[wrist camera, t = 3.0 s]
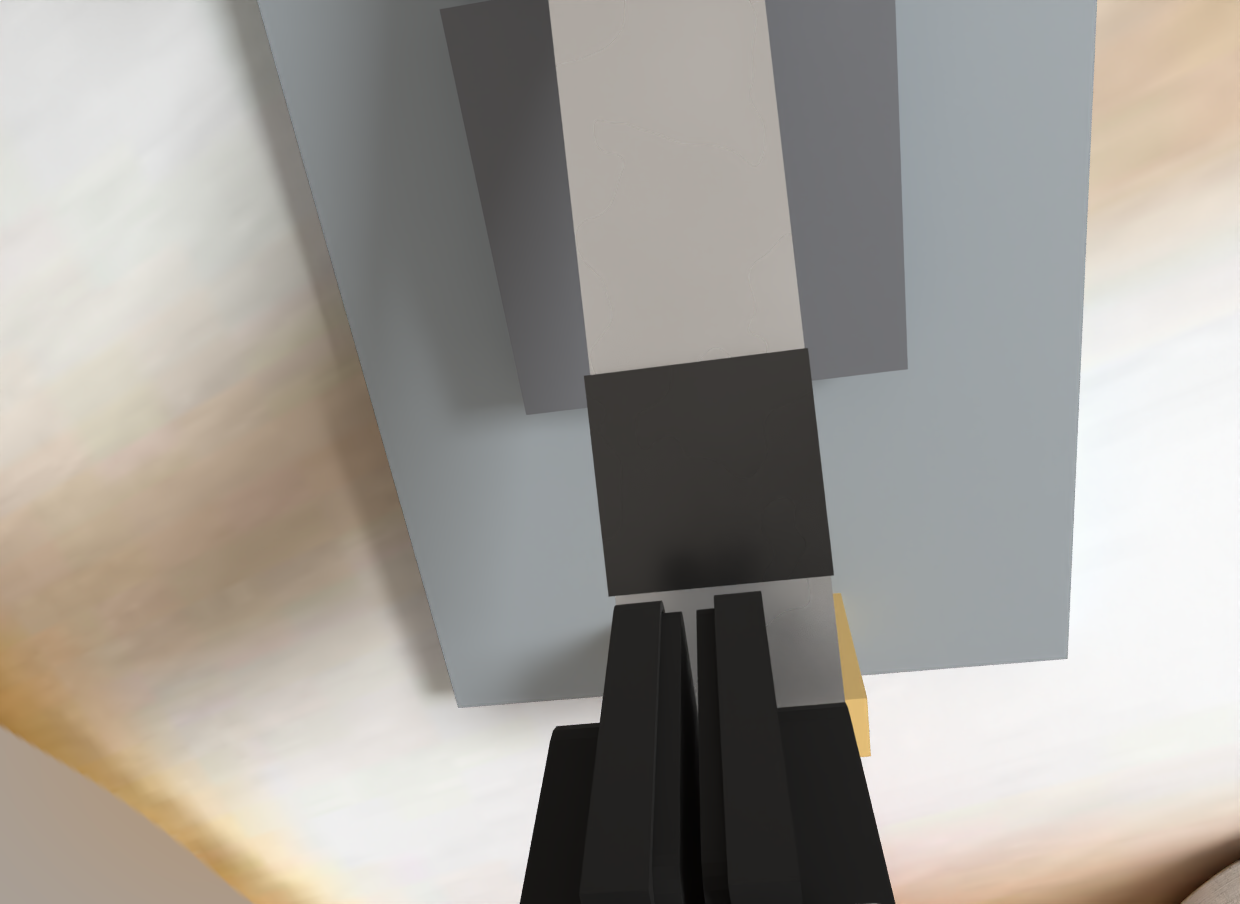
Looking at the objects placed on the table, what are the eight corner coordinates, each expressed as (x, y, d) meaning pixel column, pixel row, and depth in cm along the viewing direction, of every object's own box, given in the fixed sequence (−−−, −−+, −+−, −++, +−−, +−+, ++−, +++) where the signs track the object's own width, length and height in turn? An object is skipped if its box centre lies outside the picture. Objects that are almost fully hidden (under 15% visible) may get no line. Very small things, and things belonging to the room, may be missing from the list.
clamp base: (159, -441, 17) (-78, -637, 12) (1098, -677, 15) (1314, -1040, 10) (467, 679, 27) (414, 840, 22) (1051, 630, 25) (1145, 794, 20)
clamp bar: (498, -387, 15) (463, -507, 13) (728, -439, 14) (726, -573, 13) (633, 818, 15) (617, 871, 13) (871, 802, 14) (889, 856, 12)
